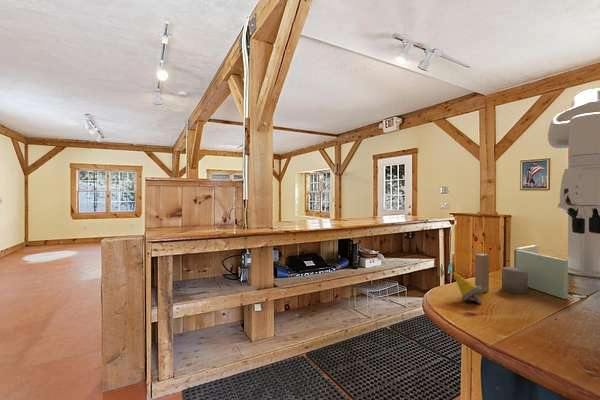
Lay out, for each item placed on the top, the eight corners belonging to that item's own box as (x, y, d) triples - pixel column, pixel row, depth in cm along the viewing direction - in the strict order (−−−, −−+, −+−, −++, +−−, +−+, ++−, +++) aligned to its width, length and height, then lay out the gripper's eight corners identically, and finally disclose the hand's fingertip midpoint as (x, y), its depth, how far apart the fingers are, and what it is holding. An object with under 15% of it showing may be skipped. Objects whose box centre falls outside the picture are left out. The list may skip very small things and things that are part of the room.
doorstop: (509, 286, 89) (509, 266, 89) (532, 291, 84) (532, 270, 84) (497, 289, 87) (497, 268, 87) (519, 295, 81) (519, 273, 81)
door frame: (531, 277, 97) (531, 244, 97) (538, 278, 96) (539, 245, 95) (475, 291, 85) (475, 254, 85) (481, 293, 83) (482, 255, 83)
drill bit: (473, 309, 73) (443, 275, 79) (472, 311, 78) (444, 279, 83) (492, 297, 73) (461, 264, 78) (490, 300, 77) (461, 268, 83)
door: (512, 281, 92) (513, 249, 92) (516, 281, 93) (516, 249, 92) (563, 298, 78) (564, 260, 77) (567, 298, 78) (568, 260, 78)
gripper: (609, 163, 81) (608, 231, 81) (543, 164, 82) (542, 231, 83) (637, 160, 73) (636, 235, 74) (564, 162, 75) (563, 235, 76)
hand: (586, 232), depth 78 cm, fingers open, 3 cm apart
